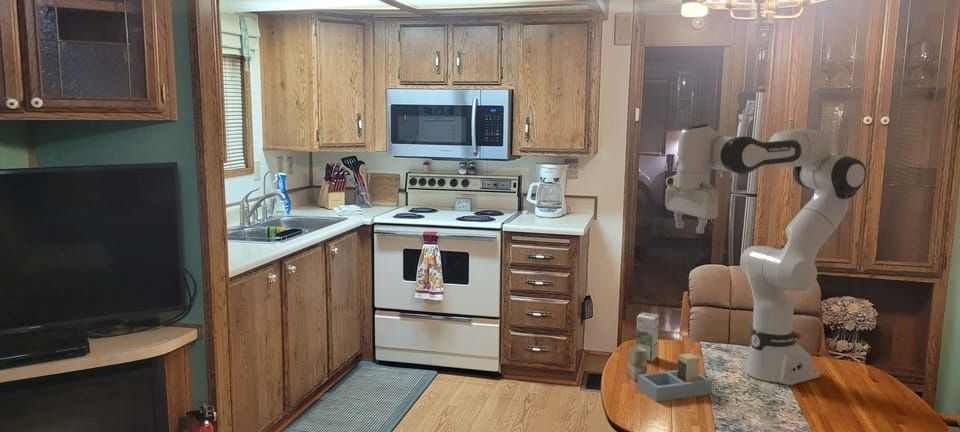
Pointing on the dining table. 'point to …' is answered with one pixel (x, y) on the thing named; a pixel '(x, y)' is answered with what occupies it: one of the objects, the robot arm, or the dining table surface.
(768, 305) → the robot arm
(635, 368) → the block
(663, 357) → the dining table surface
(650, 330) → the syrup box
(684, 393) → the divided grey tray
